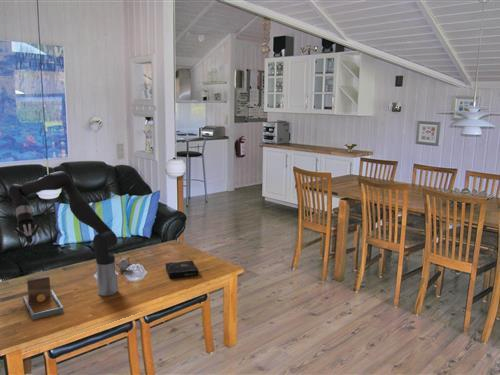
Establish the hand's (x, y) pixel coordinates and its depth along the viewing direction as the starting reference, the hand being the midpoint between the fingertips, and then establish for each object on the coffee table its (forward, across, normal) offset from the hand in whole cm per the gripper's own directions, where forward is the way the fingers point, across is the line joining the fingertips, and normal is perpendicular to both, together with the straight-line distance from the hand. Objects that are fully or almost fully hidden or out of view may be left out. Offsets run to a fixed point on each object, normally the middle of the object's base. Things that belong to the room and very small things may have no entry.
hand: (29, 242), depth 235 cm
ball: (+31, 0, +2) cm, 31 cm away
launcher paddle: (+30, 0, +6) cm, 30 cm away
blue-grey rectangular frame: (+41, 0, -5) cm, 42 cm away
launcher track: (+33, 0, +3) cm, 33 cm away
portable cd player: (+35, +77, +2) cm, 84 cm away
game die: (+20, +49, +16) cm, 55 cm away
